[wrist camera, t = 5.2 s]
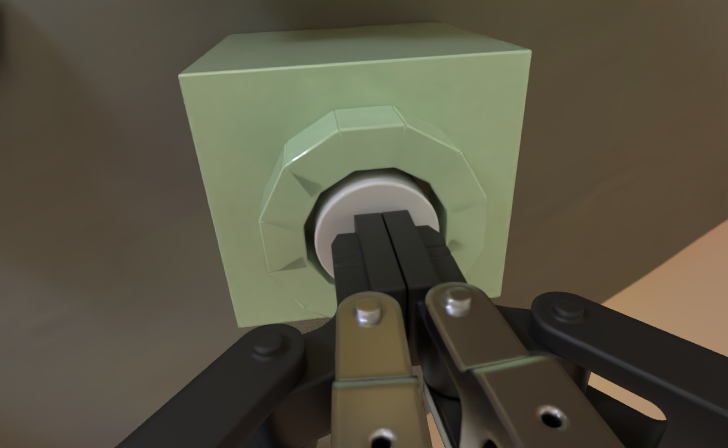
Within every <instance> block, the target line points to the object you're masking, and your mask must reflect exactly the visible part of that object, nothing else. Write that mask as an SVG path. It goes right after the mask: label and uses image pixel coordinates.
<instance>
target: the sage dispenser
mask: <svg viewBox="0 0 728 448" xmlns="http://www.w3.org/2000/svg"><path fill="white" fill-rule="evenodd" d="M531 54H532V52H531V50H529V49H526V48H523V47H519V46H516V45H513V44H510V43H506V42H503V41H500V40H497V39H493V38H490V37H487V36H484V35H480V34H477V33H474V32H471V31H468V30H464V29H461V28H458V27H455V26H451V25H448V24H445V23H442V22H438V21H436V22H420V23H404V24H388V25H372V26H356V27H340V28H324V29H309V30H293V31H277V32H261V33H245V34H230V35H228V36H227V37H226V38H225V39H223V40H222V41H221V42H219V43H218V44H217V45H216V46H214V47H213V48H212V49H211V50H209V51H208V52H207V53H206V54H204V55H203V56H202V57H200V58H199V59H198V60H197V61H195V62H194V63H193V64H192V65H190V66H189V67H188V68H187V69H185V70H184V71H183V72H182V73H180V74H179V75H178V79H179V83H180V87H181V91H182V95H183V100H184V104H185V108H186V112H187V116H188V120H189V124H190V129H191V133H192V137H193V141H194V145H195V149H196V154H197V158H198V162H199V166H200V170H201V174H202V179H203V183H204V187H205V191H206V195H207V199H208V204H209V208H210V212H211V216H212V220H213V224H214V229H215V233H216V237H217V241H218V245H219V249H220V254H221V258H222V262H223V266H224V270H225V274H226V278H227V283H228V287H229V291H230V295H231V299H232V303H233V308H234V312H235V316H236V320H237V324H238V327H240V328H241V327H249V326H258V325H266V324H275V323H283V322H291V321H300V320H308V319H317V318H325V317H330V318H332V317H333V316H334V315H335V313H336V310H337V300H336V291H335V281H334V278H333V277H332V276H331V275H330V274H329V273H327V272H326V270H325V269H324V268H323V266H322V265H321V263H320V261H319V259H318V257H317V254H316V249H315V241H314V223H313V207H314V205H315V203H316V201H317V199H318V197H319V195H320V193H321V192H323V191H324V190H326V189H327V188H329V187H331V186H332V185H334V184H335V183H337V182H338V181H340V180H341V179H343V178H344V177H346V176H347V175H349V174H350V173H352V172H354V171H359V170H370V169H381V168H392V167H395V168H397V169H399V170H401V171H403V172H406V173H408V174H410V175H412V176H415V177H416V179H417V181H418V182H419V184H420V186H421V187H422V189H423V191H424V193H425V194H426V196H427V198H428V199H429V201H430V203H431V205H432V206H433V208H434V210H435V212H436V215H437V217H438V222H439V233H440V234H441V236H442V237H443V239H444V241H445V243H446V246H447V247H448V248H449V250H450V252H451V255H452V256H453V257H454V259H455V261H456V263H457V265H458V267H459V268H460V270H461V272H462V274H463V276H464V278H465V279H466V281H467V283H468V284H471V285H473V286H476V287H478V288H479V289H481V290H482V291H484V292H485V293H486V294H487V295H488V297H489V298H493V297H499V296H500V295H501V287H502V280H503V272H504V264H505V256H506V249H507V241H508V233H509V225H510V217H511V210H512V202H513V194H514V186H515V179H516V171H517V163H518V155H519V147H520V140H521V132H522V124H523V116H524V108H525V101H526V93H527V85H528V77H529V70H530V62H531Z"/></svg>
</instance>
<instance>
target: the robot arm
mask: <svg viewBox="0 0 728 448" xmlns="http://www.w3.org/2000/svg"><path fill="white" fill-rule="evenodd" d="M354 227H355V232H354V233H344V234H337V236H336V237H335V239H334V241H333V242H332V244H331V250H332V260H333V271H334V281H335V291H336V300H337V310H336V313H335V315H334V316H333V317H332V319H331V320H330V321H329V322H328V323H326V324H325V325H323V326H322V327H320V328H318V329H316V330H314V331H311V332H308V333H306V334H303V335H302V334H301V332H300V331H299V330H297V329H296V328H294V327H292V326H289V325H286V324H268V325H263V326H260V327H257V328H255V329H253V330H251V331H249V332H248V333H246V334H245V335H244V336H243V337H241V338H240V339H239V340H238V341H237V342H236V343H234V344H233V345H232V346H231V347H230V348H229V349H228V350H226V351H225V352H224V353H223V354H222V355H221V356H220V357H218V358H217V359H216V360H215V361H214V362H213V363H212V364H210V365H209V366H208V367H207V368H206V369H205V370H203V371H202V372H201V373H200V374H199V375H198V376H197V377H195V378H194V379H193V380H192V381H191V382H190V383H189V384H187V385H186V386H185V387H184V388H183V389H182V390H181V391H179V392H178V393H177V394H176V395H175V396H174V397H172V398H171V399H170V400H169V401H168V402H167V403H166V404H164V405H163V406H162V407H161V408H160V409H159V410H158V411H156V412H155V413H154V414H153V415H152V416H151V417H150V418H148V419H147V420H146V421H145V422H144V423H143V424H141V425H140V426H139V427H138V428H137V429H136V430H135V431H133V432H132V433H131V434H130V435H129V436H128V437H127V438H125V439H124V440H123V441H122V442H121V443H120V444H119V445H117V446H116V447H115V448H316V446H317V443H318V439H320V438H322V437H324V436H326V435H328V434H330V433H331V448H433V447H432V442H431V438H430V432H429V428H428V422H427V417H426V412H425V407H424V402H423V397H422V392H421V387H420V382H419V379H418V377H417V376H413V371H412V366H417V365H421V368H422V371H423V392H424V396H425V398H426V401H427V403H428V406H429V408H430V411H431V413H432V416H433V418H434V421H435V424H436V426H437V429H438V431H439V434H440V436H441V439H442V441H443V444H444V447H445V448H728V357H726V356H724V355H722V354H719V353H717V352H714V351H712V350H709V349H707V348H704V347H702V346H700V345H697V344H695V343H692V342H690V341H687V340H685V339H683V338H680V337H678V336H675V335H673V334H670V333H668V332H666V331H663V330H661V329H658V328H656V327H653V326H651V325H649V324H646V323H644V322H641V321H639V320H636V319H634V318H631V317H629V316H627V315H624V314H622V313H619V312H617V311H615V310H612V309H610V308H607V307H605V306H602V305H600V304H598V303H595V302H593V301H590V300H588V299H585V298H583V297H581V296H578V295H575V294H571V293H566V292H548V293H544V294H541V295H539V296H538V297H536V298H535V299H534V301H533V302H532V306H531V310H529V309H520V308H510V307H503V306H498V305H495V304H493V302H492V301H491V300H490V298H489V297H488V295H487V294H486V293H485V292H484V291H482V290H481V289H479V288H478V287H476V286H473V285H471V284H468V283H467V281H466V279H465V278H464V276H463V274H462V272H461V270H460V268H459V267H458V265H457V263H456V261H455V259H454V257H453V256H452V255H451V252H450V250H449V248H448V247H447V246H446V243H445V241H444V239H443V237H442V236H441V234H440V233H439V232H438V231H436V230H435V229H433V228H432V227H430V226H429V225H422V226H415V224H414V222H413V220H412V218H411V215H410V213H409V211H408V210H399V211H388V212H382V213H380V212H379V213H369V214H359V215H354ZM591 372H593V373H595V374H597V375H599V376H601V377H603V378H605V379H607V380H609V381H611V382H613V383H614V384H616V385H618V386H620V387H622V388H624V389H626V390H628V391H630V392H632V393H634V394H636V395H638V396H640V397H642V398H644V399H646V400H648V401H650V402H652V403H653V404H655V405H656V406H657V407H658V408H659V409H661V411H662V412H663V413H664V415H665V417H666V419H667V420H663V421H662V420H656V419H652V418H650V417H648V416H646V415H644V414H642V413H641V412H638V411H637V410H635V409H633V408H631V407H629V406H627V405H625V404H624V403H622V402H620V401H618V400H616V399H614V398H612V397H610V396H608V395H607V394H605V393H603V392H601V391H599V390H597V389H595V388H593V387H591V386H590V385H588V381H589V377H590V374H591Z"/></svg>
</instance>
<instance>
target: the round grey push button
mask: <svg viewBox="0 0 728 448" xmlns="http://www.w3.org/2000/svg"><path fill="white" fill-rule="evenodd" d="M399 210H408V211H409V213H410V215H411V218H412V220H413V222H414V224H415V226H422V225H429V226H430V227H432V228H433V229H435V230H436V231H438V232H439V222H438V217H437V215H436V212H435V210H434V208H433V206H432V205H431V203H430V201H429V199H428V198H427V196H426V194H425V193H424V191H423V189H422V187H421V186H420V184H419V182H418V181H417V179H416V177H415V176H412V175H410V174H408V173H406V172H403V171H401V170H399V169H397V168H395V167H392V168H381V169H370V170H359V171H354V172H352V173H350V174H349V175H347V176H346V177H344V178H343V179H341V180H340V181H338V182H337V183H335V184H334V185H332V186H331V187H329V188H327V189H326V190H324V191H323V192H321V193H320V195H319V197H318V199H317V201H316V203H315V205H314V207H313V223H314V241H315V249H316V254H317V257H318V259H319V261H320V263H321V265H322V266H323V268H324V269H325V270H326V272H327V273H329V274H330V275H331V276H332V277H333V278H334V271H333V260H332V250H331V244H332V242H333V241H334V239H335V237H336V236H337V234H344V233H354V232H355V227H354V215H359V214H369V213H379V212H380V213H382V212H388V211H399Z"/></svg>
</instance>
